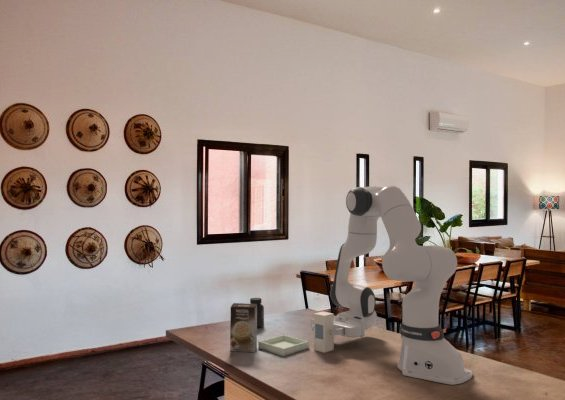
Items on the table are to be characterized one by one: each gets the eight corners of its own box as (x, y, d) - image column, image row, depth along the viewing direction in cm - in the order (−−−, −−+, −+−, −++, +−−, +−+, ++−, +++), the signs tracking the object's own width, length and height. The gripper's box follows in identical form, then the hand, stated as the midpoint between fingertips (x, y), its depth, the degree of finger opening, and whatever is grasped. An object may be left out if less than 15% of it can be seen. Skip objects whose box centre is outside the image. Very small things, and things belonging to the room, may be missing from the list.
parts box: (333, 349, 175) (333, 313, 175) (324, 352, 172) (324, 315, 172) (323, 346, 179) (322, 311, 179) (313, 349, 175) (313, 313, 175)
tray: (308, 348, 177) (308, 341, 177) (283, 356, 168) (283, 348, 168) (283, 341, 186) (283, 334, 186) (258, 348, 177) (258, 341, 177)
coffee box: (229, 351, 173) (229, 306, 173) (232, 346, 179) (232, 302, 180) (254, 352, 172) (254, 307, 172) (257, 347, 179) (257, 303, 179)
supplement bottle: (257, 323, 213) (257, 296, 213) (267, 326, 208) (267, 298, 208) (244, 326, 209) (244, 298, 209) (254, 329, 204) (254, 300, 204)
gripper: (324, 311, 192) (301, 317, 182) (367, 319, 177) (344, 326, 168) (324, 327, 192) (301, 334, 182) (367, 337, 177) (344, 345, 167)
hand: (322, 330), depth 175 cm, fingers open, 7 cm apart
